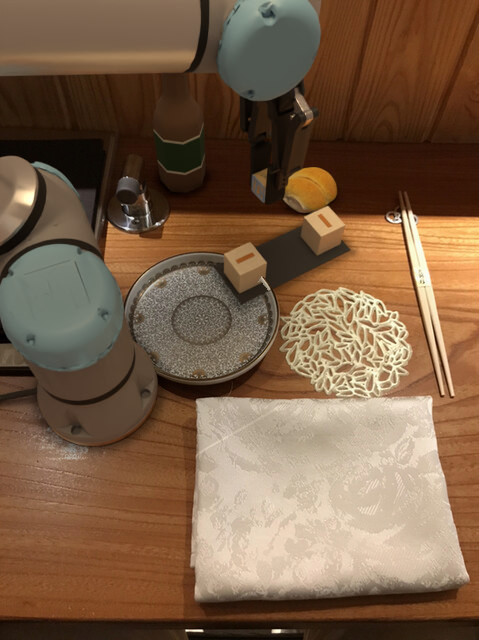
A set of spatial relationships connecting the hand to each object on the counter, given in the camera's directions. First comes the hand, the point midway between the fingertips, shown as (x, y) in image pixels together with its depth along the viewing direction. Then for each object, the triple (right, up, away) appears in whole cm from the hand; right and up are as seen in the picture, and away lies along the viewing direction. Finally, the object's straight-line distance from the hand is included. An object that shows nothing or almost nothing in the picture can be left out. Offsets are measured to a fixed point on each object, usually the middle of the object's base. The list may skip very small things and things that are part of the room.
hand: (266, 191), depth 77 cm
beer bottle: (-13, +6, +18) cm, 24 cm away
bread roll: (+8, +3, +17) cm, 19 cm away
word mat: (+3, -8, +10) cm, 13 cm away
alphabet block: (0, 0, 0) cm, 1 cm away
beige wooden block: (+9, -5, +11) cm, 15 cm away
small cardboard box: (-3, -11, +7) cm, 14 cm away
